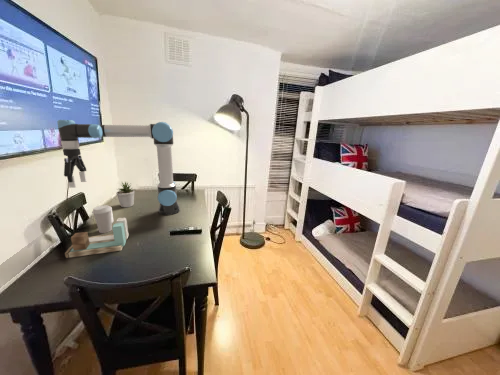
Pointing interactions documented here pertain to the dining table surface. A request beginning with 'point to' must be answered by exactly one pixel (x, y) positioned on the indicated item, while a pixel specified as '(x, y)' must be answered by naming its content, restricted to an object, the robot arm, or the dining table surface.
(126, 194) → the potted plant
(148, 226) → the dining table surface
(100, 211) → the coffee cup
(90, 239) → the strip grey
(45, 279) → the dining table surface
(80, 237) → the block
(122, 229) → the strip teal
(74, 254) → the board
